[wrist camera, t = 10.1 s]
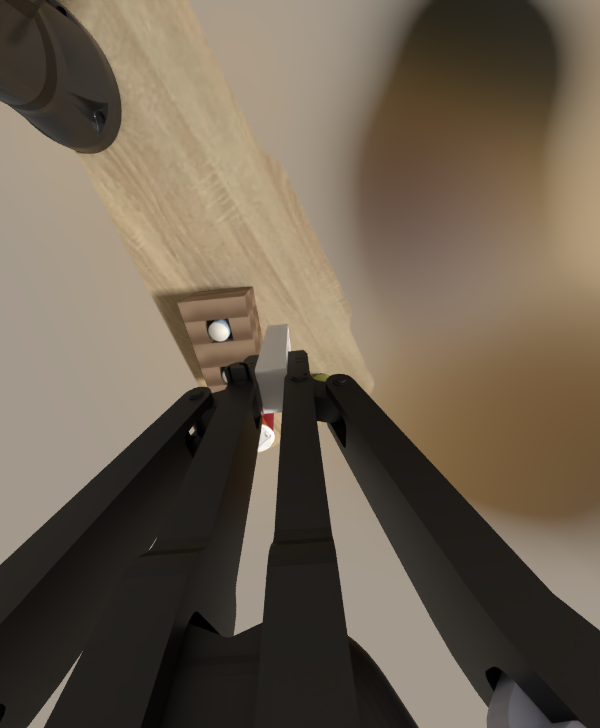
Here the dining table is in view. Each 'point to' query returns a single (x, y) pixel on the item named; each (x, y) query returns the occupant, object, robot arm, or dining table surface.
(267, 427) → the coffee cup
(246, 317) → the collar block
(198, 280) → the dining table surface
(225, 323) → the peg
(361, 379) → the dining table surface
